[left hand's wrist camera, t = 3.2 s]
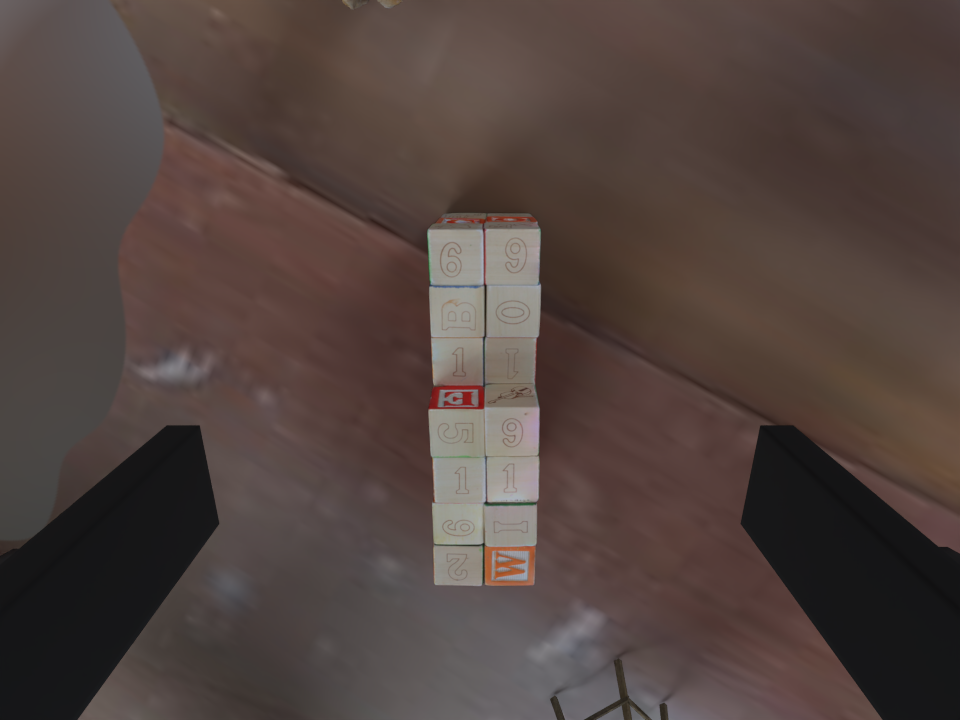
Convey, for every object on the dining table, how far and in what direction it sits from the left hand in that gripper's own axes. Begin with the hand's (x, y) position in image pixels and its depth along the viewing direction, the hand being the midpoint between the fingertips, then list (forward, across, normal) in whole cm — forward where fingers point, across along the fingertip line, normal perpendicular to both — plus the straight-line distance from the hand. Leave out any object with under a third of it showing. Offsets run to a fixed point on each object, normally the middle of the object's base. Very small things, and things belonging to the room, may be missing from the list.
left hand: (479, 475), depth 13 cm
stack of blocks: (+27, 0, -7) cm, 28 cm away
